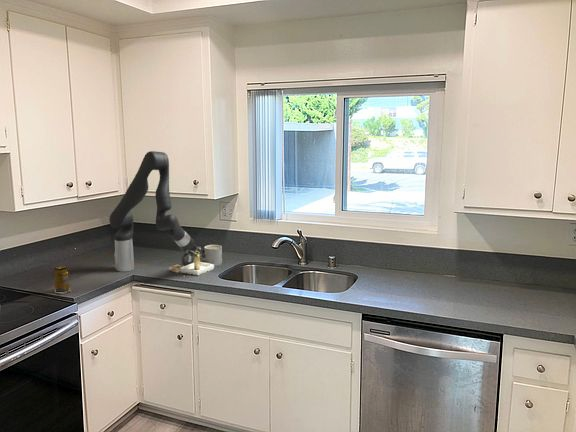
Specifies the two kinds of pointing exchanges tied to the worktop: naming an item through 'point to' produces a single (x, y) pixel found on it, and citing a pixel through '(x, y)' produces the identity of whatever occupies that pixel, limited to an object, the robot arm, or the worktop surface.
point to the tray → (203, 268)
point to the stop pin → (196, 261)
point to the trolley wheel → (187, 259)
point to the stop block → (175, 268)
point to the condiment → (61, 279)
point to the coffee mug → (213, 255)
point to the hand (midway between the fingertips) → (198, 255)
